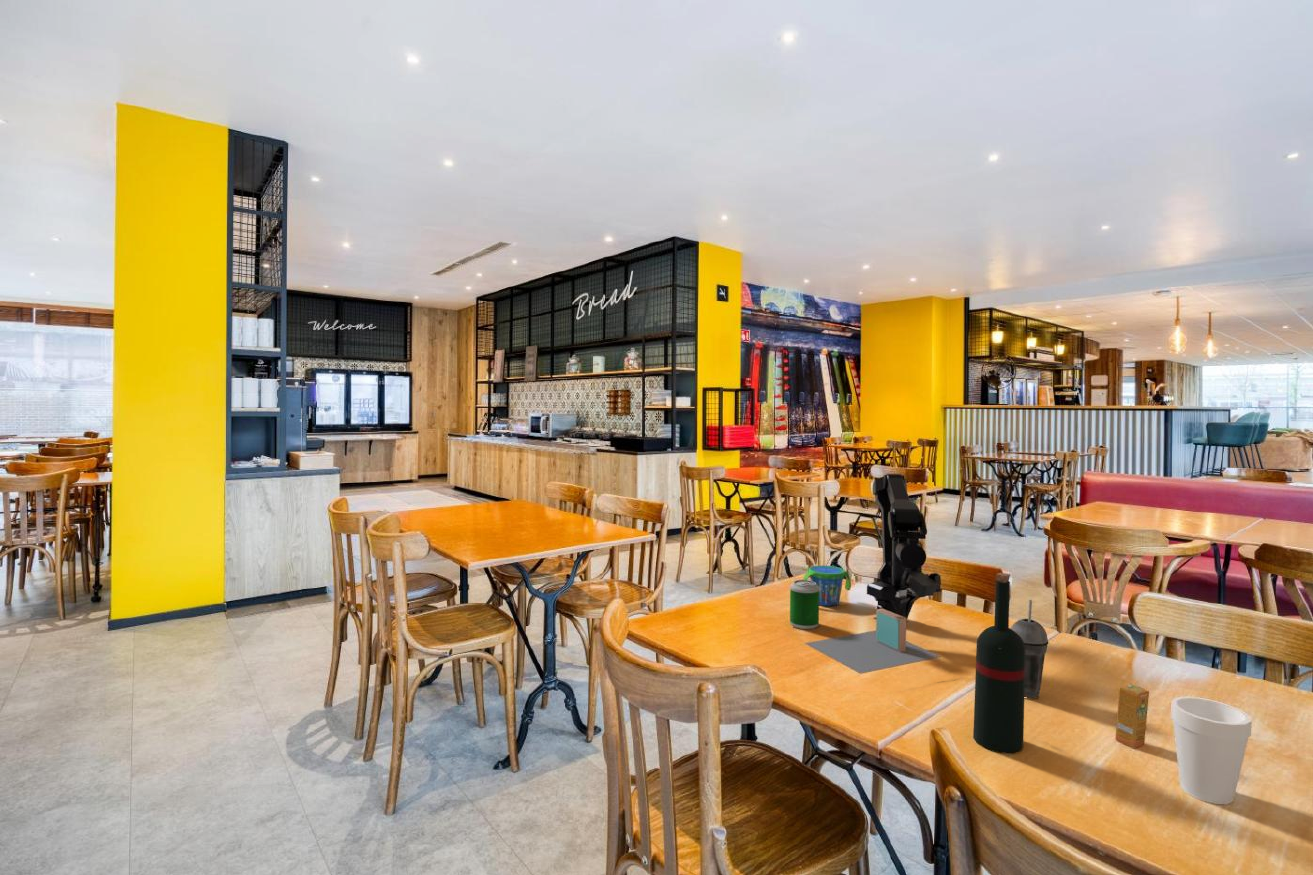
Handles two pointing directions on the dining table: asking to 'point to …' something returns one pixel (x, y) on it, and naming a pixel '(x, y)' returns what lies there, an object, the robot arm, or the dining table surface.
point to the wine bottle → (1000, 680)
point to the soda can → (804, 604)
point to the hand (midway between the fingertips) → (903, 621)
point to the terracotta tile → (891, 630)
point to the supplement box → (1132, 715)
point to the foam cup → (1209, 747)
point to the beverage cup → (1032, 652)
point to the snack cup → (828, 583)
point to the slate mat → (869, 652)
